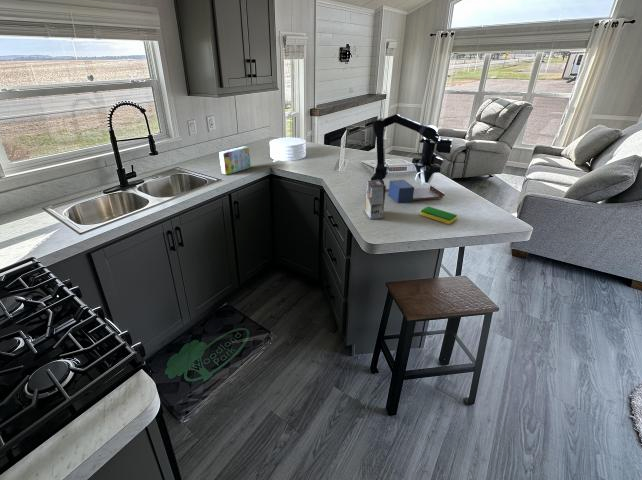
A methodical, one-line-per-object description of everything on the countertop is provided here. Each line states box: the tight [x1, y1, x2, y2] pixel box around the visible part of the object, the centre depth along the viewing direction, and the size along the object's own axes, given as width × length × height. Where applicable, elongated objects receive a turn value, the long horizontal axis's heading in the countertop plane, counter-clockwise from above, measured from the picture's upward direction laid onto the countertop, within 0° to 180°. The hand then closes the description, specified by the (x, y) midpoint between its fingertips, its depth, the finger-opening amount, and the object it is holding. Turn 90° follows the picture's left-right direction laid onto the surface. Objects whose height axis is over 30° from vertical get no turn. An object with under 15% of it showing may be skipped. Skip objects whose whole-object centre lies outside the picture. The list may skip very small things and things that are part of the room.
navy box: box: [388, 179, 446, 204], centre depth 173 cm, size 25×13×8 cm, turn 97°
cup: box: [415, 167, 435, 186], centre depth 171 cm, size 7×10×8 cm
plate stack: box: [269, 136, 307, 162], centre depth 255 cm, size 28×28×12 cm
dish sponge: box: [419, 205, 458, 225], centre depth 152 cm, size 7×14×2 cm, turn 41°
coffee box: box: [364, 179, 387, 220], centre depth 153 cm, size 9×6×16 cm
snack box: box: [218, 145, 252, 176], centre depth 223 cm, size 21×6×15 cm, turn 134°
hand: (423, 180), depth 172 cm, fingers closed on cup, 6 cm apart
